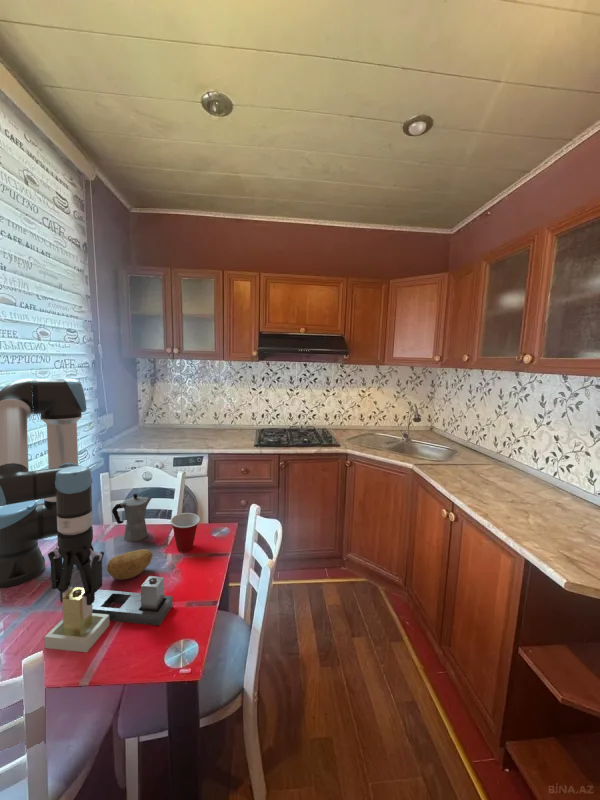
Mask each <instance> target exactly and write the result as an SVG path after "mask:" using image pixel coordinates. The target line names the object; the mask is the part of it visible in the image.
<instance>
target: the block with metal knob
mask: <svg viewBox="0 0 600 800" xmlns="http://www.w3.org/2000/svg"><path fill="white" fill-rule="evenodd" d="M84 593H85V591H84V587H78V586H75V587H73V590H72V591H70V592H69V593H68V594H67V595H66V596H65V597H64V598H62V601H63V603H62V619H63V628H64V635H68V636H78V637H81V636H82V635H83V633H84V632H85V631H86V630H87V629H88V628H89V627H90V626H91V625H92V613H91V614H90V615H89V616H88V617H87V618H86V619H83V613H82V594H84Z"/></svg>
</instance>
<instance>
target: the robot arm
mask: <svg viewBox="0 0 600 800" xmlns="http://www.w3.org/2000/svg"><path fill="white" fill-rule="evenodd" d="M85 412H87V401H86V395H85V391H84V387H83V385H82V382H81V381H80V380H77V379H74V378H73V379H72V378H23V379H19V380H17V381H16V380H15V381H13V382H11V383H8V384H7V385H6V386H5V387H3V388H2V389H1V390H0V588H9V587H13V586H14V587H15V586H16V585H21V584H23V583H26V582H28V581H31V580H32V579H34V578H36V577H38V576H39V575H40V574H42V573H43V572H44V571H45V569H46V559H45V556H44V555H43V554H42V551H41V549H40V547H39V540H44V539H48V538H52V537H56V536H57V537H56V538H57V547H55V548H54V549H52V550H50V552H48V554H47V557H48V559H49V561H50V562H49V563H50V581H51V589H52V590H58V592H59V598H60V599H59V600H60V603H62V604H63V601H62V598H64V597H65V596H66V595H67V594H68V593H69V592H70V591H72V590H73V589H74V586H71V585H72V584H73V583H72V582H71V580H72V578H73V577H72V575H73V572H74V566H76V570H77V571H79V576H80V579H81V583H82V588H84V591H85V593H84V594H82V613H83V619H86V618H87V617H88V616H89V615H90V614H91V613H92V612H93V611H92V603H93V602H94V600H95V592H96V591H97V590H98V589H101V588H102V586H103V558H104V556H105V552H104V551H101V550H100V552H99V551H95V550H94V547H93V540H94V529H93V528H94V527H93V521H94V519H93V518H94V517H93V516H94V515H93V502H92V498H93V496H92V492H93V490H92V489H93V485H92V483H93V478H92V471H91V468H89V467H88V466H85V465H79V452H78V451H79V449H78V421H79V420H81V418H83V417H82V415H83V414H82V413H85ZM31 415H40V420H41V421H43V422H44V423H45V424H46V435H47V437H46V439H47V440H46V441H47V463H48V468H47V469H39V470H37V469H36V470H29V447H28V445H29V443H28V441H29V440H28V439H29V438H28V437H29V436H28V418H29V417H30V416H31ZM38 500H43V502H42V503H37V502H36V501H38Z"/></svg>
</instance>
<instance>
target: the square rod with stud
mask: <svg viewBox="0 0 600 800" xmlns="http://www.w3.org/2000/svg"><path fill="white" fill-rule="evenodd" d="M140 593H141V611H151V612H158V611H159V610H160V608H161V607H162V605H163V604H164V595H165V577H164V576H153V575H149V576H147V578H146V579H145V580H144V582H143V583H142V584H141V585H140Z"/></svg>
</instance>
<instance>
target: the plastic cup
mask: <svg viewBox="0 0 600 800" xmlns="http://www.w3.org/2000/svg"><path fill="white" fill-rule="evenodd" d="M200 520H201V518H200V516H199V515H198V514H196V513H192V512H183V513H178V514H175V515H174V516H172V517H171V518H170V524H171V526H172V529H173V535H174V541H175V545H176V549H177V551H179V552H182V553H183V552H184V553H185V552H189V551H191V550H192V549H193V547H194V541H195V538H196V533H197V527H198V524H199V523H200Z"/></svg>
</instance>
